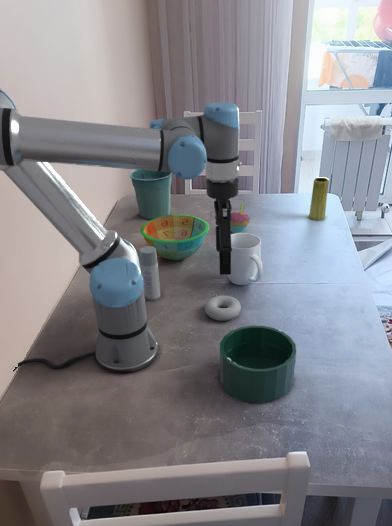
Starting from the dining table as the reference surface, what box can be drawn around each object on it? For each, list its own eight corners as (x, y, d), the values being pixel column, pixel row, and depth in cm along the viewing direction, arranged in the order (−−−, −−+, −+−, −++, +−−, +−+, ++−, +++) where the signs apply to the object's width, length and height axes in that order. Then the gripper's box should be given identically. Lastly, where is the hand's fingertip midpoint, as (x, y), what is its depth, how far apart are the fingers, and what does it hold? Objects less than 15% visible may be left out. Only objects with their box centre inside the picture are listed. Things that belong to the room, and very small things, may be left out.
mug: (275, 287, 144) (278, 246, 136) (245, 298, 139) (247, 257, 131) (244, 268, 154) (245, 229, 146) (216, 278, 149) (215, 238, 141)
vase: (326, 220, 182) (331, 182, 173) (310, 220, 182) (314, 182, 173) (323, 213, 186) (328, 176, 178) (307, 214, 187) (311, 177, 178)
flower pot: (125, 214, 193) (120, 173, 183) (157, 203, 201) (154, 163, 192) (151, 225, 183) (147, 183, 173) (183, 213, 191) (181, 172, 182)
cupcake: (253, 229, 177) (254, 197, 170) (242, 238, 172) (243, 205, 164) (233, 225, 181) (233, 193, 174) (221, 233, 175) (221, 201, 168)
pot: (248, 413, 102) (249, 381, 97) (206, 371, 114) (205, 341, 108) (307, 384, 109) (312, 353, 103) (262, 347, 120) (264, 317, 115)
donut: (198, 318, 132) (231, 326, 128) (197, 307, 130) (231, 315, 126) (215, 300, 139) (246, 308, 135) (214, 290, 137) (247, 297, 133)
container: (145, 301, 140) (139, 254, 130) (144, 293, 143) (138, 246, 134) (161, 299, 140) (157, 252, 131) (159, 291, 144) (155, 245, 135)
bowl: (171, 278, 150) (169, 249, 144) (130, 255, 163) (126, 227, 157) (223, 255, 161) (223, 227, 155) (180, 235, 175) (179, 209, 169)
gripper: (244, 196, 101) (242, 284, 114) (233, 160, 121) (233, 239, 134) (208, 198, 101) (211, 286, 114) (203, 162, 121) (206, 241, 134)
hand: (223, 261), depth 124 cm, fingers open, 13 cm apart
